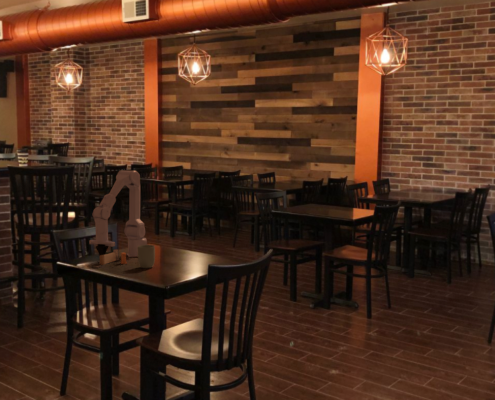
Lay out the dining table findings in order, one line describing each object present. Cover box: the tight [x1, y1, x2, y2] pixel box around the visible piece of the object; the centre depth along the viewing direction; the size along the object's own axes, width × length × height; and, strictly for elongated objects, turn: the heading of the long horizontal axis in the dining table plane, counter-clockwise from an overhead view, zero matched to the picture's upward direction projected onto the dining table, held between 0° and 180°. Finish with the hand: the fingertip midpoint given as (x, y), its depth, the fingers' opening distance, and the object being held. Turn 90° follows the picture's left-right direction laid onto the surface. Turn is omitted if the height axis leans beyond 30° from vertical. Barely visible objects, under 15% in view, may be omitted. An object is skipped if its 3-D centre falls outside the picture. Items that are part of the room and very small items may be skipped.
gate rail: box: [99, 252, 117, 266], centre depth 284 cm, size 11×2×4 cm, turn 160°
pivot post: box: [113, 249, 120, 261], centre depth 291 cm, size 3×3×5 cm
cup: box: [137, 244, 156, 269], centre depth 271 cm, size 8×8×10 cm
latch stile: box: [120, 252, 128, 265], centre depth 282 cm, size 3×3×5 cm
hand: (102, 260), depth 283 cm, fingers closed, pressing on gate rail
